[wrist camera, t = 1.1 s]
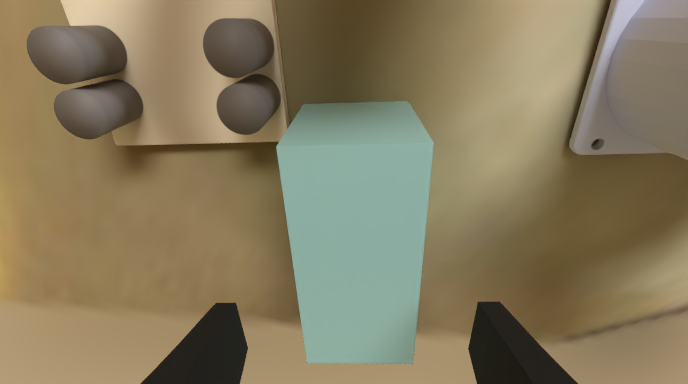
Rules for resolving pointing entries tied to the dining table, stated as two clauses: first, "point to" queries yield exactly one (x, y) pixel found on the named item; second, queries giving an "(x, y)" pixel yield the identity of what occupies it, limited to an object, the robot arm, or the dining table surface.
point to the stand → (167, 70)
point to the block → (357, 227)
